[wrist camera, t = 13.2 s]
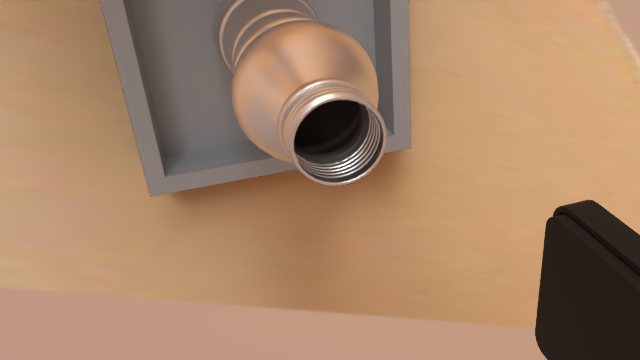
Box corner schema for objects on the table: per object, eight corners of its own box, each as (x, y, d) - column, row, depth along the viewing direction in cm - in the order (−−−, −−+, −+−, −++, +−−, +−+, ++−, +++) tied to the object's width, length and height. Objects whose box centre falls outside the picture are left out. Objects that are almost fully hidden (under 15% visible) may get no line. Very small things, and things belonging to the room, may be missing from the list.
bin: (82, -111, 34) (71, -110, 30) (380, -141, 37) (406, -143, 33) (151, 167, 42) (150, 196, 38) (389, 125, 45) (410, 148, 41)
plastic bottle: (292, 84, 41) (387, 235, 24) (196, 56, 39) (223, 200, 21) (324, -7, 39) (456, 86, 21) (225, -43, 36) (281, 28, 19)
